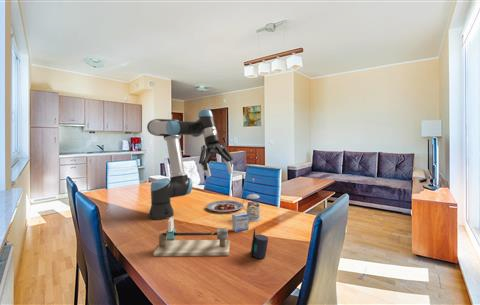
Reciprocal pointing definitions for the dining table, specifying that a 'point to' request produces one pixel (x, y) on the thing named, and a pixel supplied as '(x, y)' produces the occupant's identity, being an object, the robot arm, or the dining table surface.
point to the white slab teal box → (171, 230)
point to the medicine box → (240, 222)
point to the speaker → (259, 246)
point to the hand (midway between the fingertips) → (220, 174)
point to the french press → (251, 215)
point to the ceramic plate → (224, 206)
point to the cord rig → (194, 245)
